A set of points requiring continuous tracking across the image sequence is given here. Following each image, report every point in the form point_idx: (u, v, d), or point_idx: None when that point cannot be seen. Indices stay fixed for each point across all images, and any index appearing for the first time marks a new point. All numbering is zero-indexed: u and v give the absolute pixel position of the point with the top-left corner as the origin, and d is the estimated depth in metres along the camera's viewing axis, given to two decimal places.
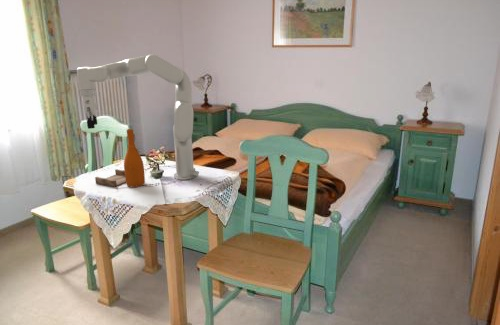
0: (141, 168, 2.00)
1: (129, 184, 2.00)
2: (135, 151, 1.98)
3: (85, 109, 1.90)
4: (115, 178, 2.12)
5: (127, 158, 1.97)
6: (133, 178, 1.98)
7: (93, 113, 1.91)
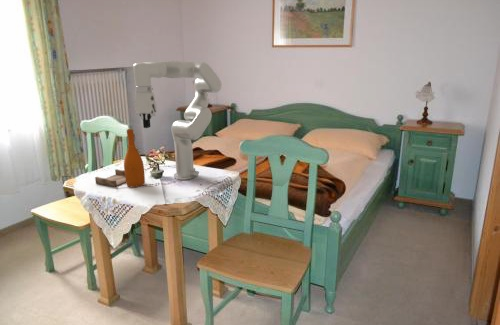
0: (141, 168, 2.00)
1: (129, 184, 2.00)
2: (135, 151, 1.98)
3: (150, 106, 1.83)
4: (115, 178, 2.12)
5: (127, 158, 1.97)
6: (133, 178, 1.98)
7: (156, 110, 1.86)
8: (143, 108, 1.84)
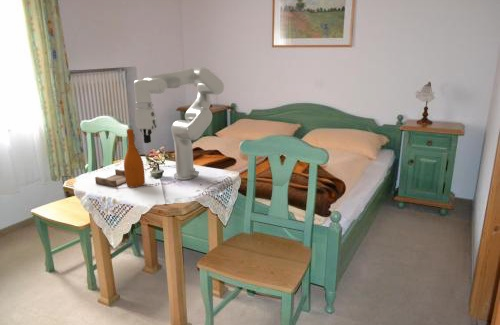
0: (141, 168, 2.00)
1: (129, 184, 2.00)
2: (135, 151, 1.98)
3: (151, 122, 1.86)
4: (115, 178, 2.12)
5: (127, 158, 1.97)
6: (133, 178, 1.98)
7: (156, 125, 1.89)
8: (144, 124, 1.87)
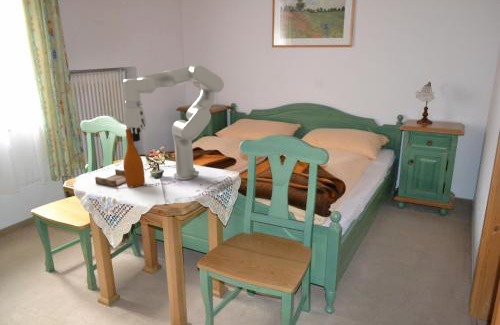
0: (141, 168, 2.00)
1: (129, 184, 2.00)
2: (134, 151, 1.98)
3: (140, 121, 1.89)
4: (115, 178, 2.12)
5: (126, 158, 1.97)
6: (133, 177, 1.98)
7: (145, 124, 1.92)
8: (133, 122, 1.90)
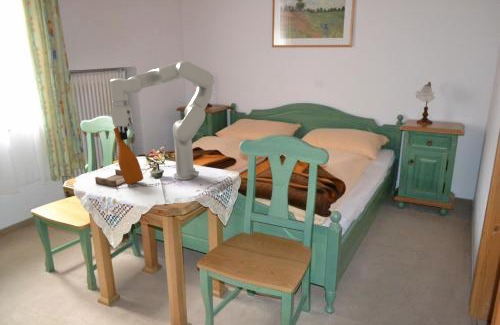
0: (136, 163, 2.00)
1: (128, 181, 2.00)
2: (126, 147, 2.00)
3: (127, 119, 1.93)
4: (115, 178, 2.12)
5: (120, 156, 1.99)
6: (130, 173, 1.98)
7: (132, 123, 1.96)
8: (120, 121, 1.94)
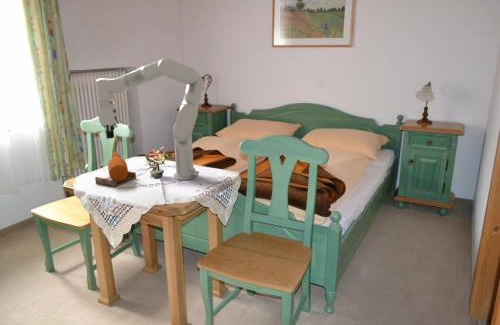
0: (115, 159, 2.08)
1: None
2: None
3: (113, 118, 1.97)
4: None
5: None
6: (108, 167, 2.05)
7: (118, 121, 2.00)
8: (106, 120, 1.98)
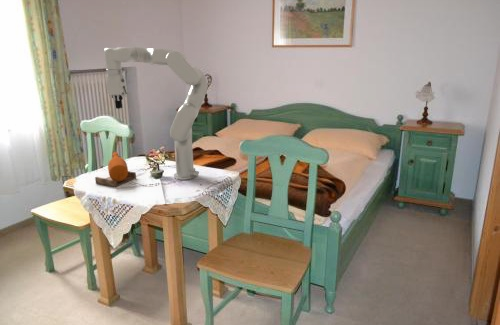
0: (115, 159, 2.08)
1: None
2: None
3: (121, 88, 1.99)
4: None
5: None
6: (108, 167, 2.05)
7: None
8: (114, 90, 2.00)
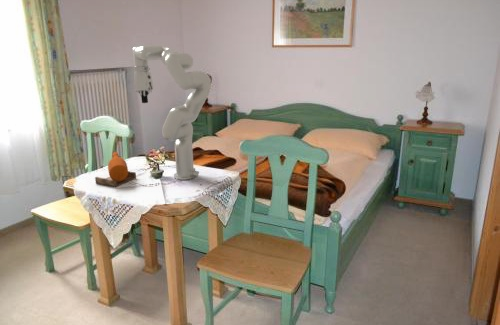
0: (115, 159, 2.08)
1: None
2: None
3: (148, 84, 2.14)
4: None
5: None
6: (108, 167, 2.05)
7: (152, 87, 2.17)
8: (141, 85, 2.15)
